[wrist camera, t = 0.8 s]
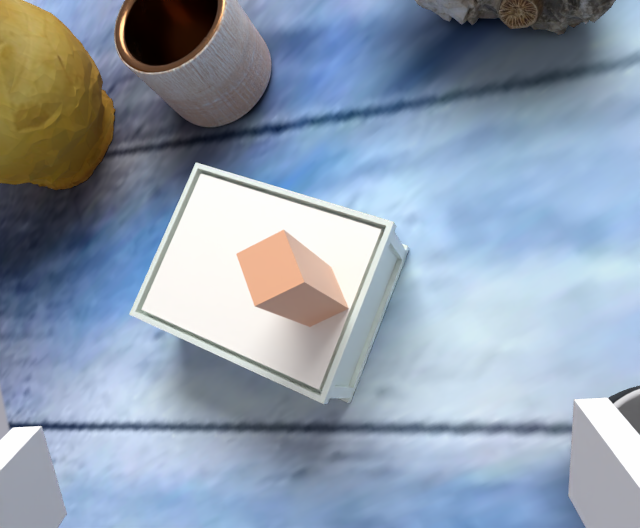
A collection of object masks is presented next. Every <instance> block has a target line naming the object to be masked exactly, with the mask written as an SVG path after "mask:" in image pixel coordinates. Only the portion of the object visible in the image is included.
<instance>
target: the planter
mask: <svg viewBox="0 0 640 528" xmlns="http://www.w3.org/2000/svg"><path fill="white" fill-rule="evenodd" d="M114 41H115V47H116V50H117V53H118V55H119V57H120V58H121V60H122V61H123V63H124V64H125V65H126V66H127V67H128V68H129V69H131V70H132V71H133V72H134V73H135V74H136V75H137V76H138V77H139V78H141V79H142V80H143V81H144V82H145V83H146V84H147V85H148V86H149V87H150V88H151V89H152V90H154V91H155V92H156V93H157V94H158V95H159V96H160V97H161V98H162V99H163V100H164V101H165V102H166V103H167V104H168V105H170V106H171V107H172V108H173V109H174V110H175V111H176V112H177V113H178V114H179V115H180V116H182V117H183V118H184V119H186V120H187V121H189V122H191V123H192V124H195V125H198V126H201V127H219V126H223V125H227V124H229V123H232V122H234V121H236V120H238V119H239V118H241V117H242V116H244V115H245V114H246V113H248V112H249V111H250V110H251V109H252V108H253V107H254V106H255V105H256V104H257V102H258V101H259V100H260V98H261V97H262V95H263V94H264V92H265V90H266V88H267V85H268V83H269V79H270V75H271V57H270V53H269V50H268V48H267V45H266V43H265V41H264V40H263V38H262V37H261V35H260V34H259V32H258V31H257V29H256V28H255V26H254V25H253V24H252V22H251V21H250V19H249V18H248V16H247V15H246V13H245V12H244V10H243V9H242V8H241V6H240V5H239V3H238V2H237V0H125V1H124V3H123V5H122V7H121V9H120V11H119V14H118V16H117V20H116V24H115V30H114Z"/></svg>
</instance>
